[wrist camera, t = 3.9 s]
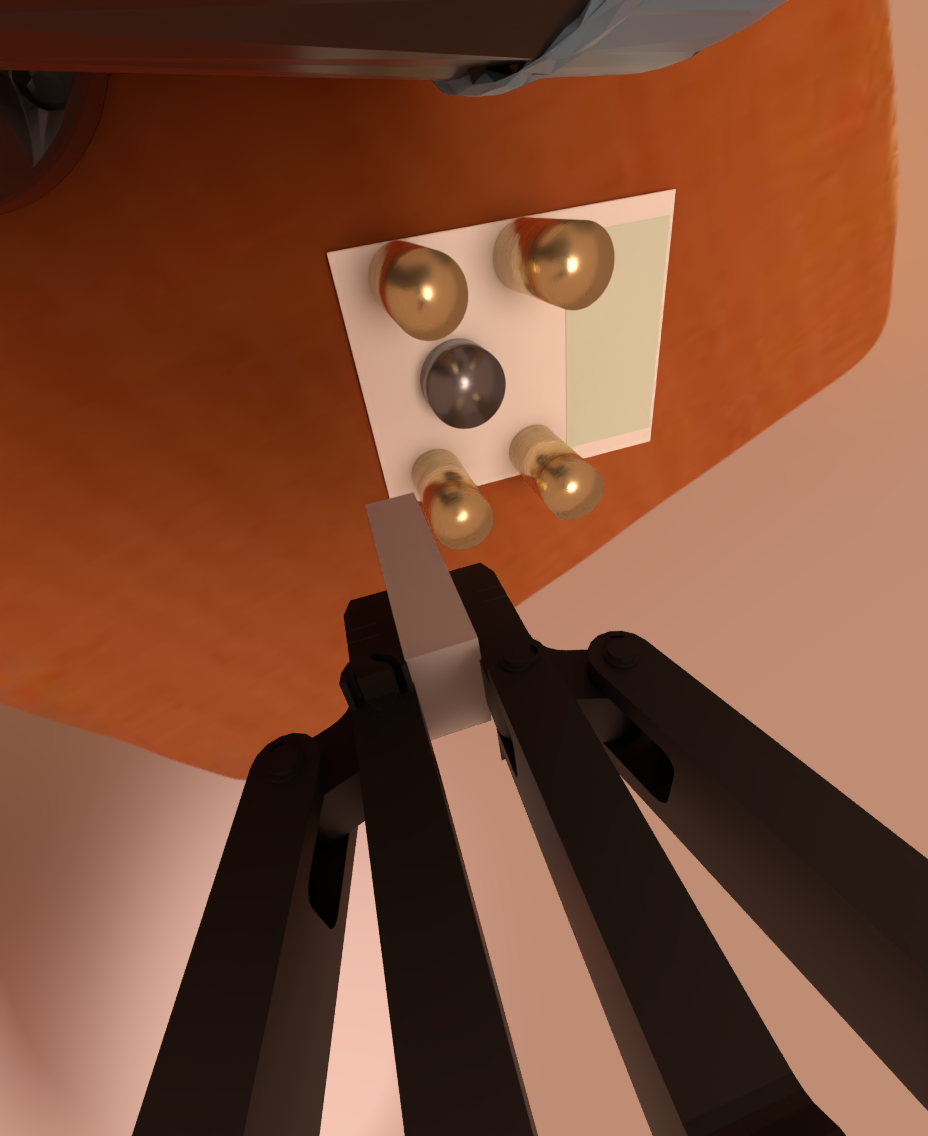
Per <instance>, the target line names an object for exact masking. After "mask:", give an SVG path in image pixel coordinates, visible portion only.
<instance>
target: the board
mask: <svg viewBox="0 0 928 1136" xmlns="http://www.w3.org/2000/svg"><path fill="white" fill-rule="evenodd" d="M675 191H676V189H669V190H664V191H658V192H653V193H647V194H642V195H637V196H631V197H626V198H620V199H615V200H609V201H604V202H598V203H593V204H587V205H582V206H576V207H571V208H565V209H560V210H554V211H549V212H544V213H538V214H533V215H527V216H522V217H532V218H554V219H577V220H590V221H594V222H596V223H598V224H600V225H601V226H602V227H603V228H604V229H605V230H606V231H607V232H608V234H609V236H610V237H611V240H612V243H613V247H614V253H615V262H614V269H613V273H612V277H611V279H610V282H609V284H608V286H607V288H606V289H605V291H604V292H603V294H602V295H601V296H600V297H599V298H598V299H597V300H596V301H595V302H594V303H593V304H591V305H590V306H588V307H586V308H584V309H580V310H575V311H573V310H565V309H563V308H560V307H557V306H555V305H552V304H549V303H547V302H544V301H541V300H538V299H536V298H533V297H530V296H528V295H525V294H522V293H520V292H517V291H514V290H512V289H509V288H507V287H506V286H505V285H503V284H502V282H501V281H500V280H499V279H498V277H497V275H496V272H495V269H494V265H493V250H494V245H495V242H496V239H497V237H498V235H499V233H500V232H501V230H502V229H503V228H504V227H505V226H506V225H507V224H508V223H509V222H511V221H513V220H515V219H517V218H521V217H516V218H511V219H505V220H500V221H494V222H489V223H483V224H478V225H472V226H467V227H461V228H456V229H450V230H445V231H440V232H434V233H429V234H423V235H418V236H412V237H407V238H401V239H396V240H402V241H407V242H411V243H414V244H417V245H421V246H424V247H428V248H431V249H435V250H438V251H441V252H443V253H445V254H447V255H449V256H450V257H451V258H452V259H453V260H454V261H455V262H456V263H457V264H458V265H459V266H460V268H461V270H462V271H463V273H464V276H465V278H466V282H467V286H468V305H467V309H466V313H465V315H464V318H463V319H462V321H461V323H460V324H459V326H458V327H457V328H456V329H455V330H454V331H453V332H452V333H451V334H449V335H448V336H446V337H444V338H442V339H439V340H435V341H422V340H419V339H416V338H413V337H411V336H410V335H408V334H407V333H406V332H404V331H403V330H402V329H401V327H400V326H399V325H398V324H397V323H396V322H395V321H394V320H393V319H392V318H391V317H390V316H389V315H388V313H387V312H386V311H385V310H384V309H383V308H382V307H381V306H380V305H379V304H378V303H377V301H376V300H375V298H374V297H373V295H372V292H371V290H370V286H369V281H368V271H369V265H370V262H371V260H372V258H373V256H374V254H375V253H376V251H377V250H378V249H379V248H380V247H381V246H383V245H384V244H386V243H388V242H391V241H396V240H390V241H385V242H379V243H374V244H368V245H363V246H357V247H352V248H346V249H341V250H336V251H330V252H326V253H327V257H328V261H329V265H330V268H331V272H332V276H333V280H334V284H335V288H336V292H337V296H338V300H339V303H340V307H341V311H342V315H343V319H344V323H345V327H346V331H347V335H348V339H349V342H350V346H351V350H352V354H353V358H354V362H355V366H356V370H357V374H358V377H359V381H360V385H361V389H362V393H363V397H364V401H365V405H366V409H367V413H368V416H369V420H370V424H371V428H372V432H373V436H374V440H375V444H376V448H377V451H378V455H379V459H380V463H381V467H382V471H383V475H384V479H385V483H386V487H387V490H388V494H389V498H393V497H397V496H401V495H405V494H409V493H413V492H414V494H415V496H416V499H417V501H421V500H420V497H419V495H418V493H417V491H416V489H415V486H414V484H413V482H412V477H411V472H412V467H413V465H414V463H415V461H416V460H417V458H418V457H419V456H420V455H422V454H423V453H425V452H426V451H429V450H432V449H446V450H448V451H450V452H452V453H453V454H455V455H456V457H457V458H458V459H459V461H460V462H461V464H462V465H463V467H464V468H465V470H466V471H467V473H468V474H469V476H470V477H471V479H472V480H473V482H474V483H475V485H476V486H479V485H483V484H487V483H490V482H494V481H498V480H502V479H506V478H510V477H514V476H517V475H521V474H520V473H519V472H518V471H517V469H516V468H515V467H514V466H513V464H512V463H511V461H510V458H509V448H510V444H511V442H512V440H513V438H514V437H515V436H516V434H517V433H518V432H519V431H521V430H522V429H523V428H525V427H527V426H530V425H536V424H538V425H544V426H546V427H548V428H549V429H550V430H551V431H552V432H554V433H555V434H556V435H557V436H558V437H559V438H560V439H561V440H563V441H564V442H565V443H566V444H567V445H568V446H569V447H571V448H572V449H573V450H574V451H575V452H576V453H577V454H579V455H580V456H581V457H582V458H587V457H591V456H594V455H598V454H602V453H606V452H610V451H614V450H618V449H621V448H625V447H629V446H633V445H637V444H641V443H645V442H648V441H650V436H651V426H652V416H653V407H654V397H655V387H656V377H657V367H658V358H659V348H660V338H661V328H662V319H663V309H664V299H665V289H666V279H667V270H668V260H669V250H670V240H671V231H672V221H673V211H674V201H675ZM455 338H463V339H468V340H471V341H473V342H475V343H477V344H478V345H480V346H481V347H483V348H484V349H485V350H487V351H488V352H490V353H491V354H492V355H493V356H494V357H495V358H496V359H497V360H498V361H499V363H500V364H501V366H502V368H503V371H504V374H505V380H506V389H505V395H504V398H503V401H502V403H501V406H500V407H499V409H498V411H497V412H496V413H495V414H494V416H493V417H492V418H491V419H489V420H488V421H487V422H485V423H484V424H482V425H480V426H478V427H474V428H470V429H458V428H454V427H451V426H449V425H447V424H445V423H444V422H442V421H441V420H440V419H439V418H438V417H437V415H436V414H435V413H434V411H433V410H432V408H431V407H430V406H429V404H428V403H427V401H426V400H425V398H424V396H423V393H422V390H421V384H420V376H421V370H422V366H423V364H424V361H425V360H426V358H427V356H428V355H429V353H430V352H431V351H432V350H433V349H434V348H435V347H436V346H438V345H439V344H441V343H442V342H445V341H447V340H450V339H455Z"/></svg>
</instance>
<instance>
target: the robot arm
mask: <svg viewBox="0 0 928 1136" xmlns="http://www.w3.org/2000/svg"><path fill="white" fill-rule="evenodd" d="M786 1H787V0H0V214H3V213H6V212H10V211H13V210H15V209H18V208H20V207H23V206H25V205H27V204H29V203H31V202H33V201H35V200H36V199H38V198H40V197H42V196H43V195H44V194H46V193H47V192H49V191H50V190H51V189H53V188H54V187H55V186H56V185H57V184H58V183H59V182H61V181H62V180H63V179H64V178H65V177H66V176H67V174H68V173H69V172H70V171H71V170H72V169H73V168H74V166H75V165H76V164H77V162H78V161H79V159H80V158H81V156H82V155H83V153H84V151H85V150H86V148H87V146H88V144H89V143H90V141H91V138H92V136H93V134H94V131H95V129H96V127H97V124H98V121H99V118H100V115H101V111H102V108H103V103H104V99H105V94H106V89H107V82H108V75H109V73H146V74H187V75H227V76H268V77H308V78H349V79H389V80H430V81H432V82H433V83H434V84H435V85H436V86H437V87H438V88H439V89H440V90H441V91H442V92H444V93H447V94H451V95H460V96H470V97H479V96H494V95H499V94H503V93H506V92H508V91H511V90H514V89H517V88H519V87H521V86H522V85H525V84H527V83H530V82H532V81H535V80H538V79H540V78H557V77H582V76H607V75H627V74H635V73H643V72H648V71H653V70H658V69H661V68H664V67H667V66H670V65H672V64H675V63H678V62H681V61H683V60H686V59H689V58H691V57H693V56H694V55H695V54H697V53H698V52H699V51H701V50H702V49H704V48H707V47H709V46H711V45H714V44H716V43H718V42H720V41H721V40H723V39H725V38H727V37H729V36H731V35H733V34H735V33H737V32H739V31H741V30H743V29H746V28H748V27H750V26H751V25H753V24H754V23H756V22H757V21H759V20H760V19H761V18H763V17H764V16H766V15H767V14H768V13H770V12H771V11H773V10H774V9H776V8H777V7H779V6H781V5H782V4H783V3H784V2H786ZM365 507H366V511H367V515H368V519H369V522H370V526H371V530H372V534H373V538H374V542H375V546H376V550H377V554H378V558H379V561H380V565H381V569H382V573H383V577H384V581H385V585H386V589H387V590H386V591H383V592H379V593H376V594H372V595H369V596H365V597H362V598H358V599H354V600H351V601H350V602H349V604H348V607H347V609H346V612H345V614H344V622H345V630H346V637H347V643H348V652H349V660H350V662H349V663H348V664H347V665H346V667H345V668H344V670H343V671H342V673H341V677H340V683H339V685H340V687H341V689H342V692H343V694H344V696H345V698H346V701H347V703H348V705H349V708H348V710H347V711H346V713H345V714H344V715H343V716H342V717H341V718H340V719H339V720H338V721H337V722H336V723H334V724H333V725H332V726H330V727H329V728H327V729H326V730H324V731H323V732H321V733H319V734H318V735H316V736H315V737H313V738H312V737H310V736H308V735H307V734H301V733H292V734H288V735H285V736H281V737H279V738H277V739H276V740H274V741H272V742H271V743H269V744H267V745H266V746H265V748H264V749H263V750H262V751H261V752H260V753H259V754H258V755H257V756H256V758H255V760H254V762H253V764H252V766H251V768H250V771H249V774H248V777H247V780H246V784H245V786H244V789H243V792H242V796H241V799H240V802H239V805H238V808H237V811H236V814H235V818H234V820H233V824H232V827H231V830H230V833H229V836H228V839H227V842H226V845H225V848H224V851H223V855H222V858H221V861H220V864H219V867H218V870H217V873H216V876H215V880H214V883H213V886H212V889H211V892H210V895H209V898H208V901H207V904H206V907H205V910H204V913H203V917H202V920H201V923H200V926H199V929H198V932H197V935H196V938H195V941H194V945H193V948H192V951H191V954H190V957H189V960H188V963H187V966H186V969H185V973H184V975H183V979H182V982H181V985H180V988H179V991H178V994H177V997H176V1001H175V1003H174V1007H173V1010H172V1013H171V1016H170V1019H169V1022H168V1025H167V1028H166V1031H165V1034H164V1038H163V1041H162V1044H161V1047H160V1050H159V1053H158V1056H157V1060H156V1062H155V1066H154V1069H153V1072H152V1075H151V1078H150V1081H149V1084H148V1087H147V1090H146V1093H145V1097H144V1100H143V1103H142V1106H141V1109H140V1112H139V1115H138V1118H137V1121H136V1125H135V1128H134V1131H133V1134H132V1136H319V1134H320V1126H321V1119H322V1111H323V1103H324V1094H325V1086H326V1079H327V1071H328V1062H329V1054H330V1047H331V1038H332V1030H333V1023H334V1015H335V1006H336V999H337V991H338V983H339V975H340V966H341V958H342V950H343V942H344V934H345V926H346V918H347V910H348V902H349V894H350V886H351V878H352V870H353V862H354V854H355V846H356V838H357V830H358V825H360V824H361V823H362V822H364V821H365V825H366V833H367V841H368V848H369V856H370V864H371V872H372V880H373V888H374V896H375V904H376V912H377V920H378V927H379V935H380V943H381V951H382V958H383V967H384V975H385V983H386V991H387V999H388V1007H389V1014H390V1022H391V1030H392V1038H393V1046H394V1054H395V1062H396V1070H397V1078H398V1086H399V1093H400V1102H401V1109H402V1118H403V1125H404V1133H405V1136H538V1134H537V1131H536V1127H535V1123H534V1120H533V1116H532V1112H531V1108H530V1105H529V1101H528V1097H527V1093H526V1090H525V1086H524V1083H523V1079H522V1075H521V1071H520V1068H519V1064H518V1060H517V1057H516V1053H515V1049H514V1045H513V1042H512V1038H511V1034H510V1031H509V1027H508V1023H507V1020H506V1016H505V1012H504V1008H503V1005H502V1001H501V997H500V994H499V990H498V987H497V983H496V979H495V975H494V971H493V968H492V964H491V960H490V957H489V953H488V949H487V946H486V942H485V938H484V935H483V931H482V927H481V923H480V920H479V916H478V912H477V909H476V905H475V901H474V898H473V894H472V890H471V886H470V883H469V879H468V875H467V872H466V868H465V864H464V860H463V857H462V853H461V850H460V846H459V842H458V839H457V835H456V831H455V827H454V824H453V820H452V816H451V813H450V809H449V805H448V802H447V798H446V794H445V790H444V787H443V783H442V779H441V775H440V772H439V768H438V764H437V761H436V758H435V755H434V751H433V747H432V744H431V740H433V739H436V738H439V737H442V736H445V735H448V734H451V733H454V732H457V731H460V730H463V729H466V728H469V727H472V726H475V725H478V724H481V723H485V722H488V721H491V715H492V717H493V720H494V722H495V725H496V727H497V733H498V740H499V746H500V752H501V759H502V760H504V759H506V761H507V763H508V766H509V768H510V771H511V774H512V777H513V779H514V782H515V784H516V787H517V789H518V792H519V794H520V797H521V800H522V802H523V804H524V807H525V810H526V812H527V815H528V817H529V820H530V823H531V825H532V828H533V830H534V833H535V835H536V838H537V840H538V843H539V846H540V848H541V851H542V853H543V856H544V858H545V861H546V863H547V866H548V869H549V871H550V874H551V876H552V879H553V881H554V884H555V886H556V889H557V891H558V894H559V897H560V899H561V901H562V904H563V907H564V910H565V912H566V915H567V917H568V920H569V922H570V925H571V928H572V930H573V933H574V935H575V938H576V940H577V943H578V946H579V948H580V950H581V953H582V956H583V958H584V961H585V963H586V966H587V968H588V971H589V974H590V976H591V979H592V981H593V983H594V987H595V989H596V991H597V994H598V997H599V999H600V1002H601V1004H602V1007H603V1010H604V1012H605V1015H606V1017H607V1020H608V1022H609V1025H610V1027H611V1030H612V1033H613V1035H614V1038H615V1040H616V1043H617V1045H618V1048H619V1050H620V1053H621V1056H622V1058H623V1061H624V1063H625V1066H626V1068H627V1071H628V1074H629V1076H630V1079H631V1081H632V1084H633V1086H634V1089H635V1091H636V1094H637V1097H638V1099H639V1102H640V1104H641V1107H642V1109H643V1112H644V1115H645V1117H646V1120H647V1122H648V1125H649V1127H650V1130H651V1132H652V1135H653V1136H846V1135H845V1134H844V1132H843V1131H842V1130H841V1129H840V1127H838V1125H836V1124H835V1123H834V1122H833V1121H832V1120H831V1119H830V1118H829V1117H828V1116H827V1115H826V1114H825V1113H824V1112H823V1111H822V1110H821V1109H820V1108H819V1107H818V1106H817V1105H816V1104H815V1103H814V1102H813V1101H812V1100H811V1098H810V1097H809V1096H808V1095H807V1093H806V1092H805V1091H804V1089H803V1088H802V1086H801V1085H800V1083H799V1082H798V1080H797V1079H796V1077H795V1075H794V1074H793V1072H792V1070H791V1069H790V1067H789V1066H788V1064H787V1062H786V1060H785V1058H784V1057H783V1055H782V1053H781V1052H780V1050H779V1048H778V1046H777V1045H776V1043H775V1041H774V1040H773V1038H772V1036H771V1034H770V1033H769V1031H768V1029H767V1028H766V1026H765V1024H764V1022H763V1021H762V1019H761V1017H760V1015H759V1014H758V1012H757V1010H756V1009H755V1007H754V1005H753V1004H752V1002H751V1000H750V998H749V997H748V995H747V993H746V991H745V990H744V988H743V986H742V985H741V983H740V981H739V979H738V978H737V976H736V974H735V972H734V971H733V969H732V967H731V966H730V964H729V962H728V960H727V959H726V957H725V955H724V954H723V952H722V950H721V948H720V947H719V945H718V943H717V942H716V940H715V938H714V936H713V935H712V933H711V931H710V929H709V928H708V926H707V924H706V923H705V921H704V919H703V917H702V916H701V914H700V912H699V911H698V909H697V907H696V905H695V904H694V902H693V900H692V899H691V897H690V895H689V893H688V892H687V890H686V888H685V887H684V885H683V883H682V881H681V880H680V878H679V876H678V875H677V873H676V871H675V869H674V868H673V866H672V864H671V862H670V861H669V859H668V857H667V855H666V854H665V852H664V850H663V849H662V847H661V845H660V844H659V842H658V840H657V838H656V837H655V835H654V833H653V831H652V830H651V828H650V826H649V825H648V823H647V821H646V819H645V818H644V816H643V814H642V813H641V811H640V809H639V807H638V806H637V804H636V802H635V800H634V799H633V797H632V795H631V794H630V792H629V790H628V788H627V787H626V785H625V784H624V782H623V780H622V778H623V779H624V780H625V781H626V782H627V783H628V784H629V785H630V786H631V787H632V789H633V790H634V791H635V792H636V793H637V794H638V795H639V796H640V797H641V798H642V799H643V801H645V803H646V804H647V805H648V806H649V807H650V808H651V809H652V810H653V811H654V813H655V814H656V815H657V816H658V817H659V818H660V819H661V820H662V821H663V822H664V823H665V824H666V826H667V827H668V828H669V829H670V830H671V831H672V832H673V833H674V834H675V835H676V837H677V838H678V839H679V840H680V841H681V842H682V843H683V844H684V845H685V846H686V847H687V849H688V850H689V851H690V852H691V853H692V854H693V855H694V856H695V857H696V858H697V859H698V860H699V861H700V863H701V864H702V865H703V866H704V867H705V868H706V869H707V870H708V871H709V873H710V874H711V875H712V876H713V877H714V878H715V879H716V880H717V881H718V882H719V883H720V885H722V887H723V888H724V889H725V890H726V891H727V892H728V893H729V894H730V895H731V897H732V898H733V899H734V900H735V901H736V902H737V903H738V904H739V905H740V906H741V907H742V908H743V910H744V911H745V912H746V913H747V914H748V915H749V916H750V917H751V918H752V919H753V921H754V922H755V923H756V924H757V925H758V926H759V927H760V928H761V929H762V930H763V931H764V933H765V934H766V935H768V937H769V938H770V939H771V940H772V941H773V942H774V943H775V945H777V947H778V948H779V949H780V950H781V951H782V952H783V953H784V954H785V955H786V957H787V958H788V959H789V960H790V961H791V962H792V963H793V964H794V965H795V966H796V967H797V969H798V970H799V971H800V972H801V973H802V974H803V975H804V976H805V977H806V978H807V979H808V981H809V982H810V983H811V984H812V985H813V986H814V987H815V988H816V989H817V990H818V991H819V992H820V994H821V995H822V996H823V997H824V998H825V999H826V1000H827V1001H828V1002H829V1003H830V1005H831V1006H832V1007H833V1008H834V1009H835V1010H836V1011H837V1012H838V1013H839V1014H840V1016H841V1017H842V1018H843V1019H844V1020H845V1021H846V1022H847V1023H848V1024H849V1025H850V1026H851V1028H852V1029H853V1030H854V1031H855V1032H856V1033H857V1034H858V1035H859V1036H860V1037H861V1038H862V1040H863V1041H865V1043H866V1044H867V1045H868V1046H869V1047H870V1048H871V1049H872V1050H873V1051H874V1053H875V1054H876V1055H877V1056H878V1057H879V1058H880V1059H881V1060H882V1061H883V1062H884V1064H886V1066H887V1067H888V1068H889V1069H890V1070H891V1071H892V1072H893V1073H894V1074H895V1075H896V1077H897V1078H898V1079H899V1080H900V1081H901V1082H902V1083H903V1084H904V1085H905V1086H906V1087H907V1089H908V1090H909V1091H910V1092H911V1093H912V1094H913V1095H914V1096H915V1097H916V1098H917V1100H918V1101H919V1102H920V1103H921V1104H922V1105H923V1106H924V1107H925V1108H926V1109H927V1110H928V859H927V858H926V857H924V856H923V855H922V854H920V853H919V852H918V851H917V850H915V849H914V848H913V847H911V846H910V845H909V844H907V843H906V842H905V841H904V840H902V839H901V838H900V837H898V836H897V835H896V834H895V833H893V832H892V831H891V830H890V829H888V828H887V827H886V826H884V825H883V824H882V823H881V822H879V821H878V820H877V819H875V818H874V817H873V816H872V815H870V814H869V813H868V812H866V811H865V810H864V809H863V808H861V807H860V806H859V805H857V804H856V803H855V802H853V801H852V800H851V799H850V798H848V797H847V796H846V795H844V794H843V793H842V792H841V791H839V790H838V789H837V788H835V787H834V786H833V785H832V784H830V783H829V782H828V781H826V780H825V779H824V778H823V777H821V776H820V775H819V774H817V773H816V772H815V771H814V770H812V769H811V768H810V767H808V766H807V765H806V764H805V763H803V762H802V761H801V760H799V759H798V758H797V757H796V756H794V755H793V754H792V753H790V752H789V751H788V750H787V749H785V748H784V747H783V746H781V745H780V744H779V743H778V742H776V741H775V740H774V739H772V738H771V737H770V736H768V735H767V734H766V733H765V732H763V731H762V730H761V729H759V728H758V727H757V726H756V725H754V724H753V723H752V722H750V721H749V720H748V719H746V718H745V717H744V716H743V715H741V714H740V713H739V712H738V711H736V710H735V709H734V708H732V707H731V706H730V705H729V704H727V703H726V702H725V701H723V700H722V699H721V698H719V697H718V696H717V695H716V694H714V693H713V692H712V691H711V690H709V689H708V688H707V687H705V686H704V685H703V684H701V683H700V682H699V681H698V680H696V679H695V678H694V677H692V676H691V675H690V674H689V673H687V672H686V671H685V670H683V669H682V668H681V667H680V666H678V665H677V664H675V663H674V662H673V661H672V660H671V659H669V658H668V657H667V656H665V655H664V654H663V653H662V652H660V651H659V650H658V649H656V648H655V647H654V646H653V645H651V644H650V643H649V642H647V641H646V640H645V639H643V638H641V637H639V636H637V635H635V634H633V633H629V632H624V631H609V632H607V633H604V634H601V635H599V636H597V637H596V638H595V639H594V640H593V641H592V642H591V643H590V646H589V648H588V650H556V649H551V648H547V647H545V646H543V645H542V644H541V643H540V642H539V641H537V640H534V639H533V638H532V637H531V635H530V634H529V633H528V631H527V629H526V628H525V626H524V624H523V622H522V620H521V619H520V617H519V615H518V613H517V612H516V610H515V608H514V606H513V605H512V603H511V601H510V599H509V597H507V594H506V592H505V590H504V589H503V587H502V586H501V583H500V582H499V580H498V578H497V576H496V575H495V573H494V571H492V570H491V569H489V568H488V567H486V566H485V565H483V564H482V563H477V564H474V565H470V566H467V567H463V568H459V569H456V570H452V571H448V569H447V567H446V564H445V562H444V560H443V558H442V555H441V553H440V551H439V549H438V546H437V544H436V542H435V540H434V537H433V535H432V533H431V530H430V528H429V526H428V524H427V521H426V519H425V517H424V515H423V512H422V510H421V508H420V505H419V503H418V501H417V499H416V496H415V494H414V492H413V493H409V494H405V495H401V496H397V497H393V498H390V499H386V500H382V501H378V502H374V503H370V504H366V505H365ZM490 712H491V714H490ZM619 774H620V775H621V777H622V778H621V777H620V775H619Z"/></svg>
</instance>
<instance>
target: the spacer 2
mask: <svg viewBox="0 0 928 1136" xmlns="http://www.w3.org/2000/svg"><path fill="white" fill-rule="evenodd" d="M411 477H412V482H413V484H414V486H415V489H416V491H417V493H418V495H419V497H420V500H421V502H422V504H423V506H424V509H425V511H426V513H427V515H428V517H429V520H430V522H431V524H432V526H433V529H434V531H435V533H436V535H437V537H438V539H439V541H440V542H441V543H442V544H444V545H445V546H447V547H449V548H452V549H457V550H462V549H468V548H471V547H474V546H476V545H478V544H479V543H481V542H482V541H483V540H484V539H485V538H486V537H487V536H488V534H489V533H490V531H491V529H492V526H493V522H494V515H493V511H492V509H491V507H490V505H489V504H488V502H487V501H486V500H485V498H484V497H483V495H482V494H481V492H480V491H479V489H478V488H477V486H476V485H475V483H474V482H473V480H472V479H471V477H470V476H469V474H468V473H467V471H466V470H465V468H464V467H463V465H462V464H461V462H460V461H459V459H458V458H457V457H456V455H455V454H453V453H452V452H450V451H448V450H446V449H432V450H429V451H426V452H425V453H423V454H422V455H420V456H419V457H418V458H417V460H416V461H415V463H414V465H413V467H412V472H411Z"/></svg>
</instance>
